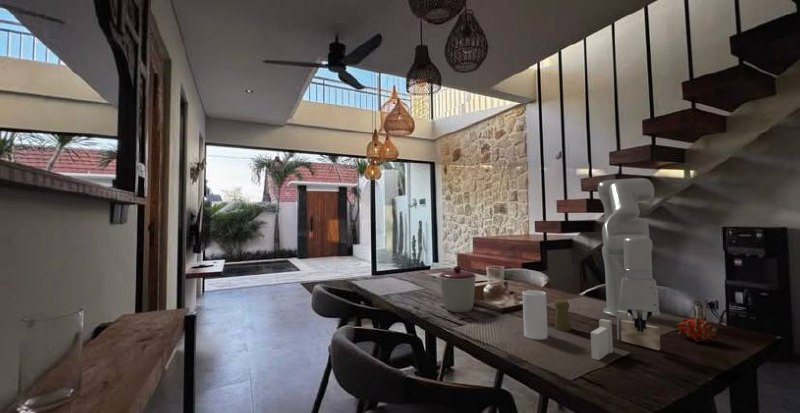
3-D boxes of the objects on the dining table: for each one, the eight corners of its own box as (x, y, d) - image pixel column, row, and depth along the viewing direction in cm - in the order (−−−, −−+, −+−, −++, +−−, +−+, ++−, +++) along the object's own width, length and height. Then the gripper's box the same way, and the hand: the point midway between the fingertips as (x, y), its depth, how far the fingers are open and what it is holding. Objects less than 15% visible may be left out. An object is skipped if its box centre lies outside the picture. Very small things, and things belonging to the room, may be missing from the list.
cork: (573, 331, 131) (572, 302, 131) (556, 330, 132) (555, 301, 132) (568, 326, 137) (567, 298, 137) (552, 325, 138) (551, 298, 138)
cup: (529, 330, 133) (528, 289, 134) (551, 335, 127) (549, 292, 128) (520, 336, 127) (518, 292, 128) (542, 341, 122) (540, 296, 122)
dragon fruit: (724, 350, 114) (678, 347, 121) (718, 329, 119) (675, 327, 127) (720, 333, 110) (673, 331, 118) (714, 312, 116) (670, 312, 124)
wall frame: (625, 333, 127) (624, 306, 127) (634, 335, 124) (633, 308, 124) (590, 357, 107) (588, 325, 107) (600, 360, 105) (599, 327, 105)
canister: (450, 303, 177) (449, 262, 178) (483, 307, 167) (482, 264, 167) (432, 311, 163) (431, 267, 163) (468, 317, 152) (466, 269, 152)
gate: (618, 339, 120) (617, 319, 120) (621, 338, 121) (620, 318, 121) (658, 350, 110) (657, 328, 110) (661, 348, 111) (660, 326, 111)
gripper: (610, 274, 113) (612, 329, 113) (667, 278, 105) (670, 338, 105) (612, 270, 119) (614, 323, 119) (666, 274, 111) (668, 330, 111)
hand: (640, 330), depth 112 cm, fingers closed
